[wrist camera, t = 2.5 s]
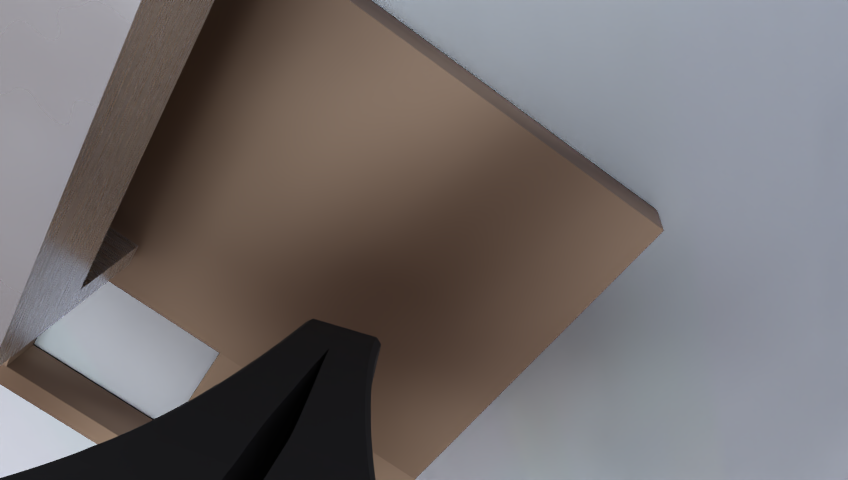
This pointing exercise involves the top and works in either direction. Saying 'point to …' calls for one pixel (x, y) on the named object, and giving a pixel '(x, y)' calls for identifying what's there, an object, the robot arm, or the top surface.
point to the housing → (76, 142)
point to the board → (355, 221)
